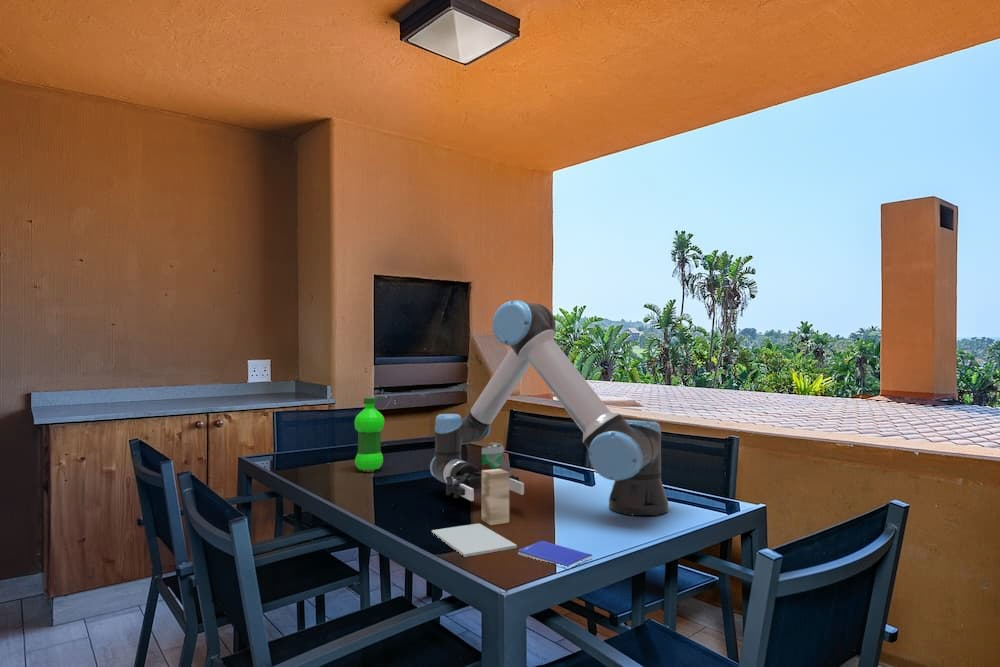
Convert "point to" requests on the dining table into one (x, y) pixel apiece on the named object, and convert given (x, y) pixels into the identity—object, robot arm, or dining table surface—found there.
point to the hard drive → (553, 553)
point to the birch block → (495, 496)
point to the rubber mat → (473, 539)
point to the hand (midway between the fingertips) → (498, 491)
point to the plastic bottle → (369, 436)
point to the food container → (492, 456)
